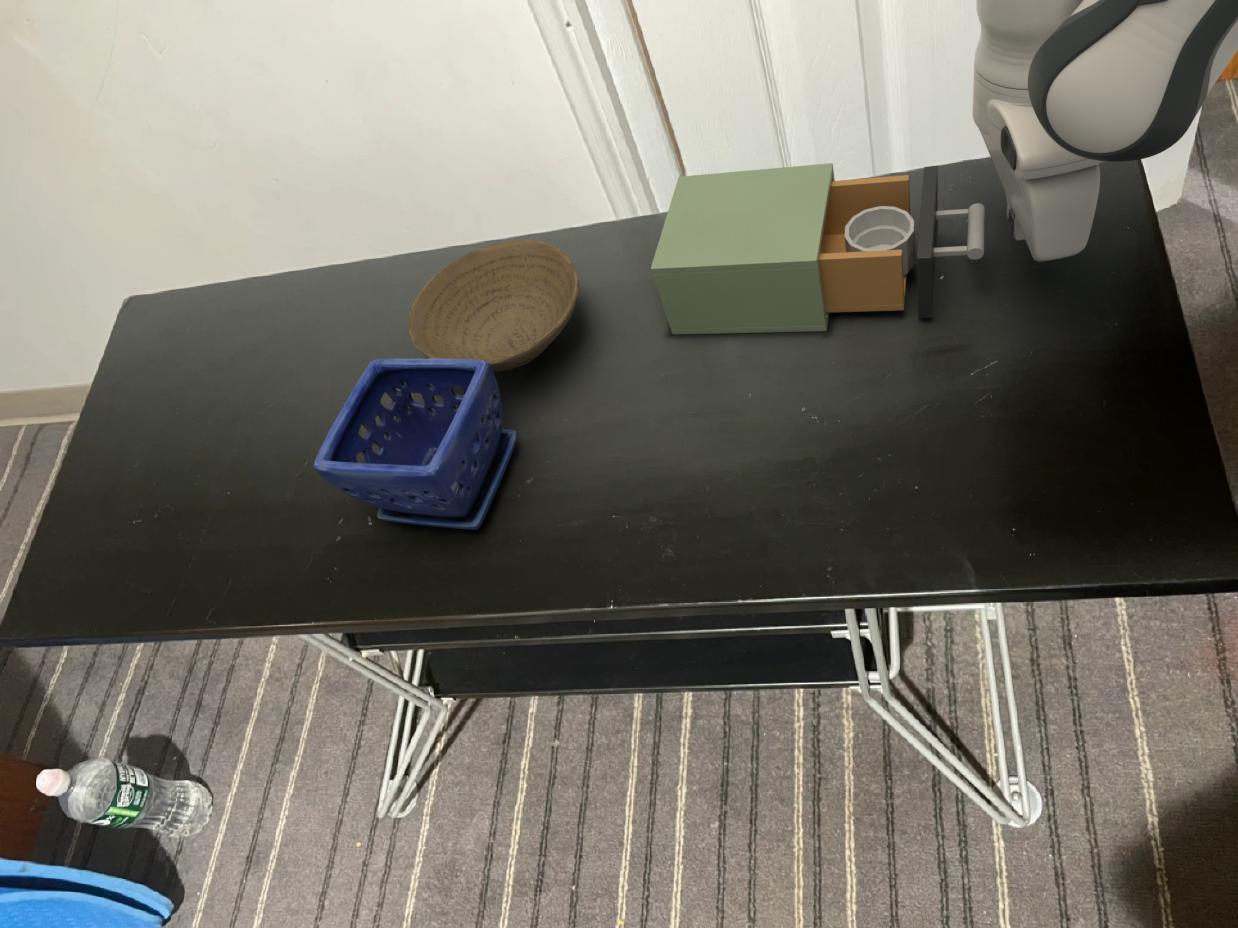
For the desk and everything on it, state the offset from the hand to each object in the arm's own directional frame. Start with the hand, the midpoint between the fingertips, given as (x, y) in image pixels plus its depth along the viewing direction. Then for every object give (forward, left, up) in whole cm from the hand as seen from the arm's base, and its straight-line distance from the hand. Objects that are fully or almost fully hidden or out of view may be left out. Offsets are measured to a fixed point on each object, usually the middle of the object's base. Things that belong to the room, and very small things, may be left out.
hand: (1021, 228), depth 79 cm
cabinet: (+25, 0, -5) cm, 25 cm away
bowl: (+50, +9, -5) cm, 51 cm away
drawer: (+12, 0, -4) cm, 13 cm away
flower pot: (+51, +27, -5) cm, 57 cm away
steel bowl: (+12, 0, -3) cm, 12 cm away
